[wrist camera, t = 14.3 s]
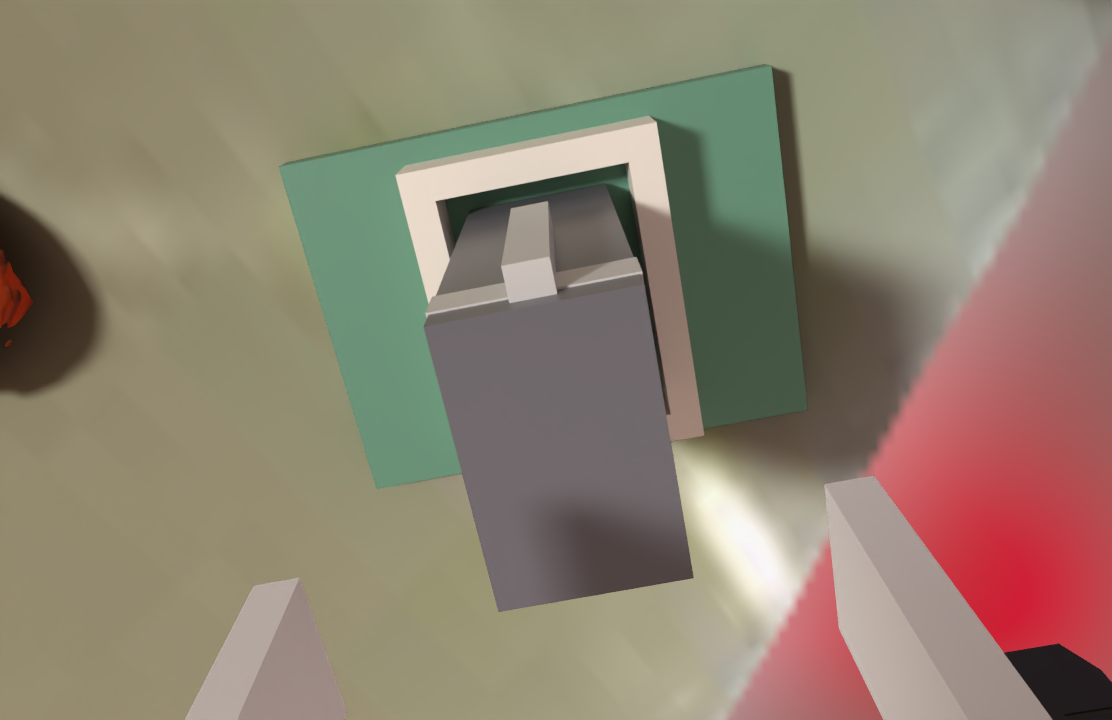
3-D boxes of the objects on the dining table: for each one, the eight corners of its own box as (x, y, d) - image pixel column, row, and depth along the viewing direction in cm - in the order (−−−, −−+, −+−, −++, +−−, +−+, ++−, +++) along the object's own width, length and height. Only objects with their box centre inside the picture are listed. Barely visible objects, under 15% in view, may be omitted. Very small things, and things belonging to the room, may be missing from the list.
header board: (381, 476, 34) (366, 516, 31) (286, 162, 30) (260, 176, 27) (800, 398, 33) (824, 434, 30) (764, 64, 29) (788, 68, 26)
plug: (513, 404, 32) (496, 614, 20) (462, 186, 29) (410, 290, 18) (641, 380, 31) (695, 579, 20) (602, 157, 29) (640, 245, 17)
